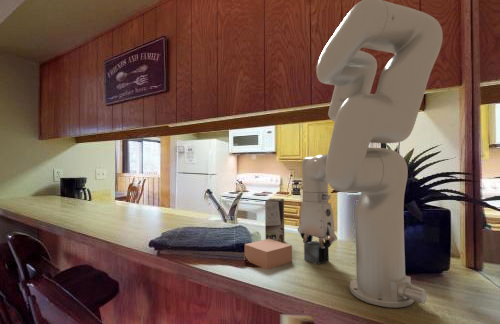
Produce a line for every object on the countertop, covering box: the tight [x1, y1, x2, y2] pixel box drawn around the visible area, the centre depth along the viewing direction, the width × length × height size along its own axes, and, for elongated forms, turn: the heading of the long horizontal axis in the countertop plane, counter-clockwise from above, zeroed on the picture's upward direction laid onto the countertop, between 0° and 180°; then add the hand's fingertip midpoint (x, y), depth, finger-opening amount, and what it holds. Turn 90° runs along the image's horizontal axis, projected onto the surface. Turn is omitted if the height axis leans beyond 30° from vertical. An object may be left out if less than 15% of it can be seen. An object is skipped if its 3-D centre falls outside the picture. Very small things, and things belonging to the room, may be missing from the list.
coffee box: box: [264, 198, 285, 243], centre depth 99 cm, size 9×6×16 cm
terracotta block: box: [244, 239, 293, 270], centre depth 80 cm, size 10×10×5 cm
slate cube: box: [303, 240, 330, 265], centre depth 80 cm, size 5×5×5 cm
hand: (316, 258), depth 80 cm, fingers closed on slate cube, 5 cm apart
